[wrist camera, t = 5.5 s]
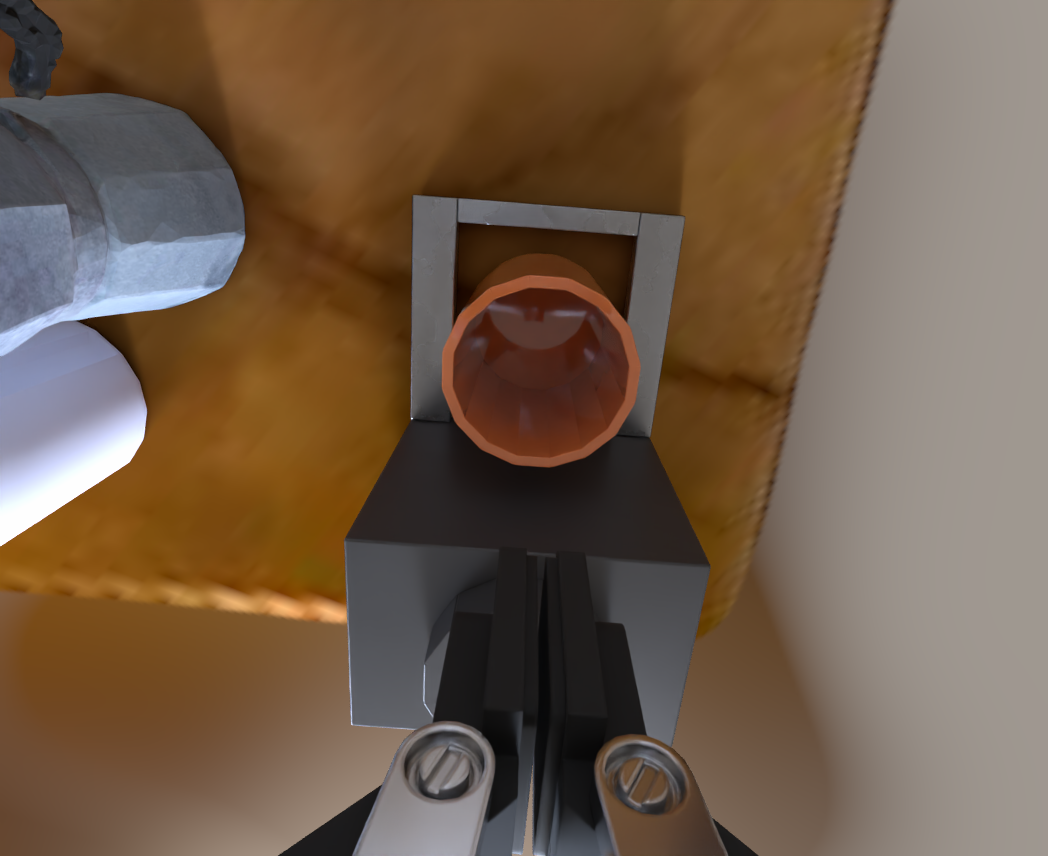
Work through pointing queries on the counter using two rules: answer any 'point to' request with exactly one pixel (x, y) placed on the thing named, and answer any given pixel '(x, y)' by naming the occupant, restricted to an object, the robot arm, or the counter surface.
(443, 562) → the grey box with dial
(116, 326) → the counter surface
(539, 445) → the cup
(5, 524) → the soap bottle
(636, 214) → the cup bay
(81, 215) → the moka pot
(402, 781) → the robot arm
